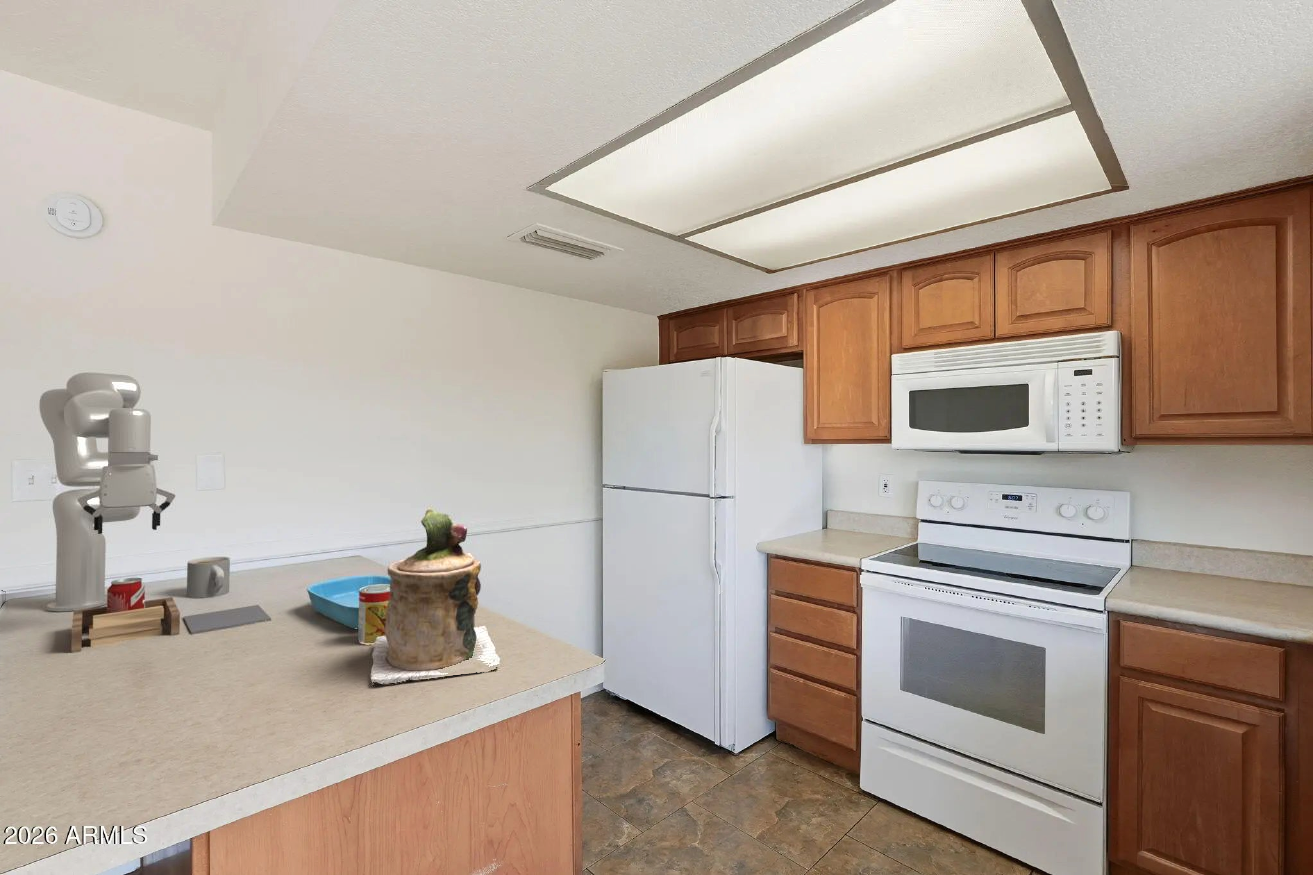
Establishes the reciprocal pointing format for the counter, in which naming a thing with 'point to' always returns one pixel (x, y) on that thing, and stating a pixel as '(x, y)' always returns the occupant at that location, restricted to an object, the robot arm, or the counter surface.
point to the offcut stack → (126, 625)
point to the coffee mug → (208, 577)
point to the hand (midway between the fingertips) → (127, 531)
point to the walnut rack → (85, 616)
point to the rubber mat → (225, 619)
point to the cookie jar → (432, 609)
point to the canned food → (372, 612)
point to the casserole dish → (342, 597)
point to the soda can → (126, 595)
